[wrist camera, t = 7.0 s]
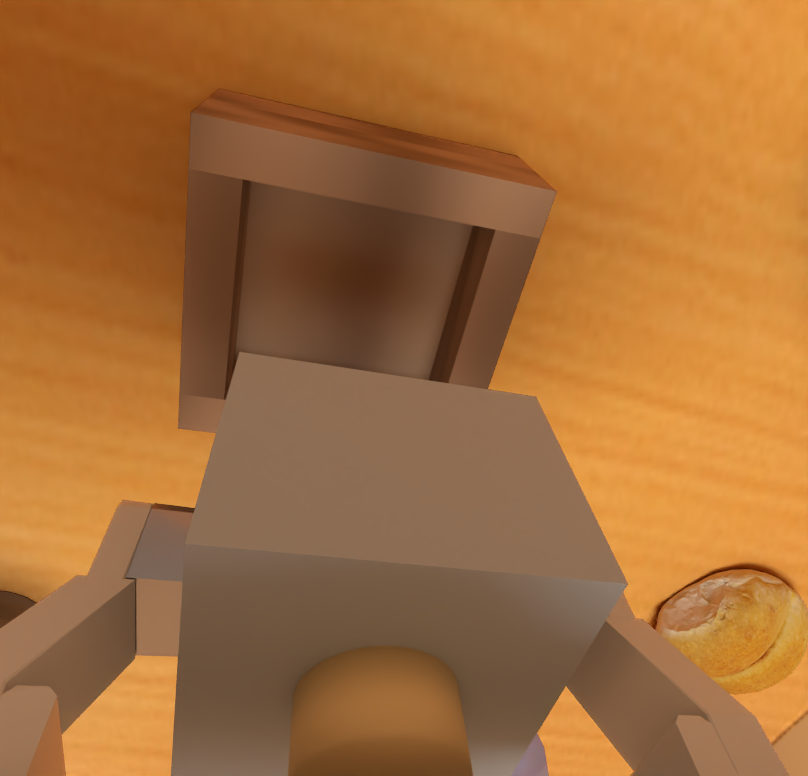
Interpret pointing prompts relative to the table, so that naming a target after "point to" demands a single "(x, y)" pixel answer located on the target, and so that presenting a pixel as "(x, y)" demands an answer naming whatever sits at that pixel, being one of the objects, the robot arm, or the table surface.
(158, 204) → the table surface
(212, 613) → the lid
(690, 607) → the bread roll
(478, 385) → the box
